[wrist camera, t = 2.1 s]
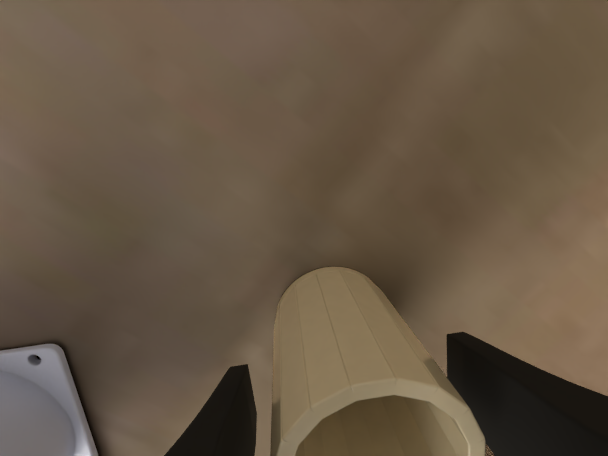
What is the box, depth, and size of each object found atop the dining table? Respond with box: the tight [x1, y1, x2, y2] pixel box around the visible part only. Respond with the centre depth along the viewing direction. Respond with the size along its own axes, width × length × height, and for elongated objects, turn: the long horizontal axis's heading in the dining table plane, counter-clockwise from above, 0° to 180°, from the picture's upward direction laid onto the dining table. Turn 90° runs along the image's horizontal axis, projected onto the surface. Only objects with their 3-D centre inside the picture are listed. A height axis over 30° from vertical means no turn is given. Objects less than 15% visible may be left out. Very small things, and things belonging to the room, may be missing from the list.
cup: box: [271, 267, 486, 456], centre depth 11 cm, size 5×5×8 cm
